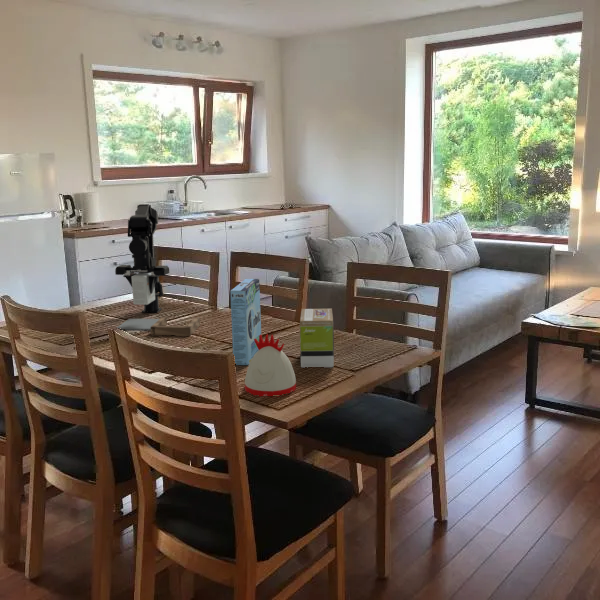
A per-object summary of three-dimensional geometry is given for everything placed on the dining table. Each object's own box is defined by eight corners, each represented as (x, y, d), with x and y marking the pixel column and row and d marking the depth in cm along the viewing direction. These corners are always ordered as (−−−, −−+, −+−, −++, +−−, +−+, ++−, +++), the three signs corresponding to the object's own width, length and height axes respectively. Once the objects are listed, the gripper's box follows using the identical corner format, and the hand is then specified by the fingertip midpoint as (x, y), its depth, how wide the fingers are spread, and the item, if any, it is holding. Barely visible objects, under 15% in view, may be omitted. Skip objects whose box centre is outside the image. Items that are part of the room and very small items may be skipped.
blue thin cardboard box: (248, 366, 199) (246, 291, 194) (231, 365, 200) (229, 290, 195) (262, 347, 218) (260, 278, 213) (247, 346, 219) (245, 278, 214)
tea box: (301, 353, 211) (301, 307, 208) (333, 353, 211) (333, 307, 208) (300, 368, 197) (299, 319, 193) (334, 368, 196) (334, 319, 193)
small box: (141, 299, 250) (139, 272, 247) (155, 299, 249) (153, 272, 247) (132, 304, 242) (130, 276, 240) (147, 304, 241) (145, 276, 239)
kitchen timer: (255, 377, 189) (254, 326, 186) (302, 381, 185) (301, 329, 182) (237, 394, 176) (235, 339, 173) (286, 399, 172) (286, 343, 169)
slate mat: (129, 320, 255) (129, 318, 254) (165, 320, 253) (165, 319, 253) (116, 329, 241) (116, 328, 241) (153, 330, 240) (153, 328, 240)
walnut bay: (163, 324, 247) (162, 316, 247) (200, 325, 246) (199, 317, 245) (150, 335, 233) (150, 327, 233) (190, 335, 232) (189, 327, 231)
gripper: (173, 248, 248) (175, 289, 251) (125, 247, 250) (128, 288, 254) (162, 252, 237) (165, 295, 240) (113, 252, 240) (116, 294, 243)
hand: (143, 293), depth 245 cm, fingers closed on small box, 6 cm apart
